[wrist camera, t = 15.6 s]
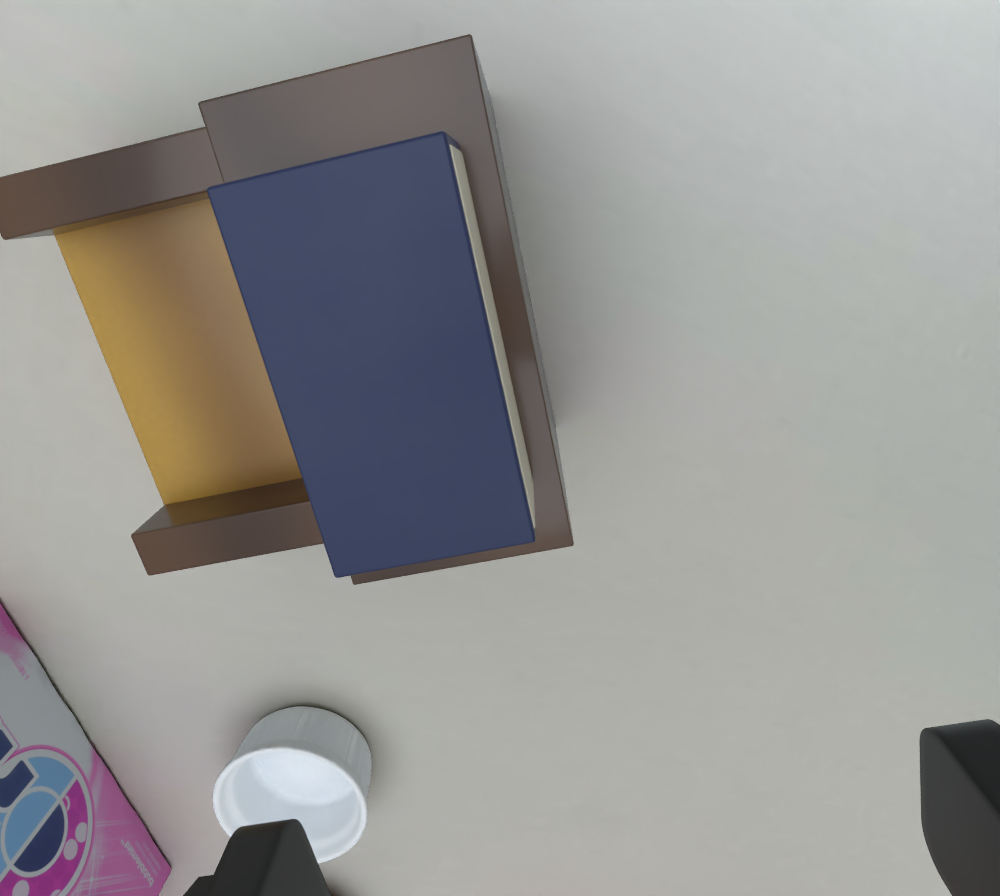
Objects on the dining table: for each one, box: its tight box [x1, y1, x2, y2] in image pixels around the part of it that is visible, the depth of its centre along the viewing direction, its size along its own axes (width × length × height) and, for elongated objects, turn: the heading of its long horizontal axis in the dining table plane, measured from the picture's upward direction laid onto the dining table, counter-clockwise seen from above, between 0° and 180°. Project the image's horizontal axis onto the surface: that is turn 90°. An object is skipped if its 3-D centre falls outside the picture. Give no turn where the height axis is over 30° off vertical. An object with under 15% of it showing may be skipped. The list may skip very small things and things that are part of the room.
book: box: [207, 131, 536, 578], centre depth 21 cm, size 6×11×4 cm, turn 12°
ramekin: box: [212, 706, 372, 864], centre depth 43 cm, size 9×9×4 cm
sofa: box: [0, 34, 574, 585], centre depth 29 cm, size 18×16×13 cm
